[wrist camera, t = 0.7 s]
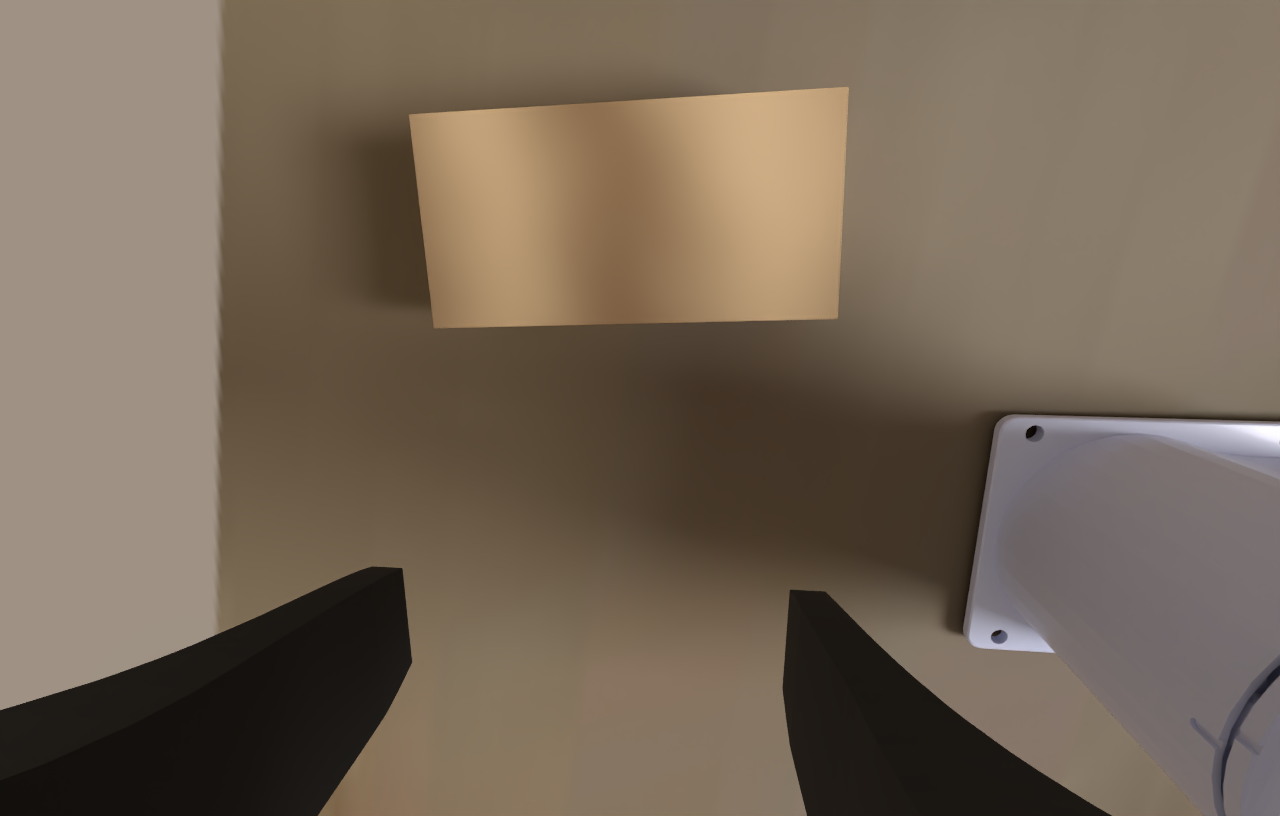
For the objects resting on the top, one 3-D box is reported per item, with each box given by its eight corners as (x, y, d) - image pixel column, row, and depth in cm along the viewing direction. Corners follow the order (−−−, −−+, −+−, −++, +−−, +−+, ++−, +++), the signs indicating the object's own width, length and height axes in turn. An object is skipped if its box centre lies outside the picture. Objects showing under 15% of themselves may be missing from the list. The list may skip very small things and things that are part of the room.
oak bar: (810, 131, 17) (848, 86, 13) (804, 305, 18) (838, 318, 14) (478, 149, 18) (408, 114, 14) (493, 313, 19) (433, 328, 15)
